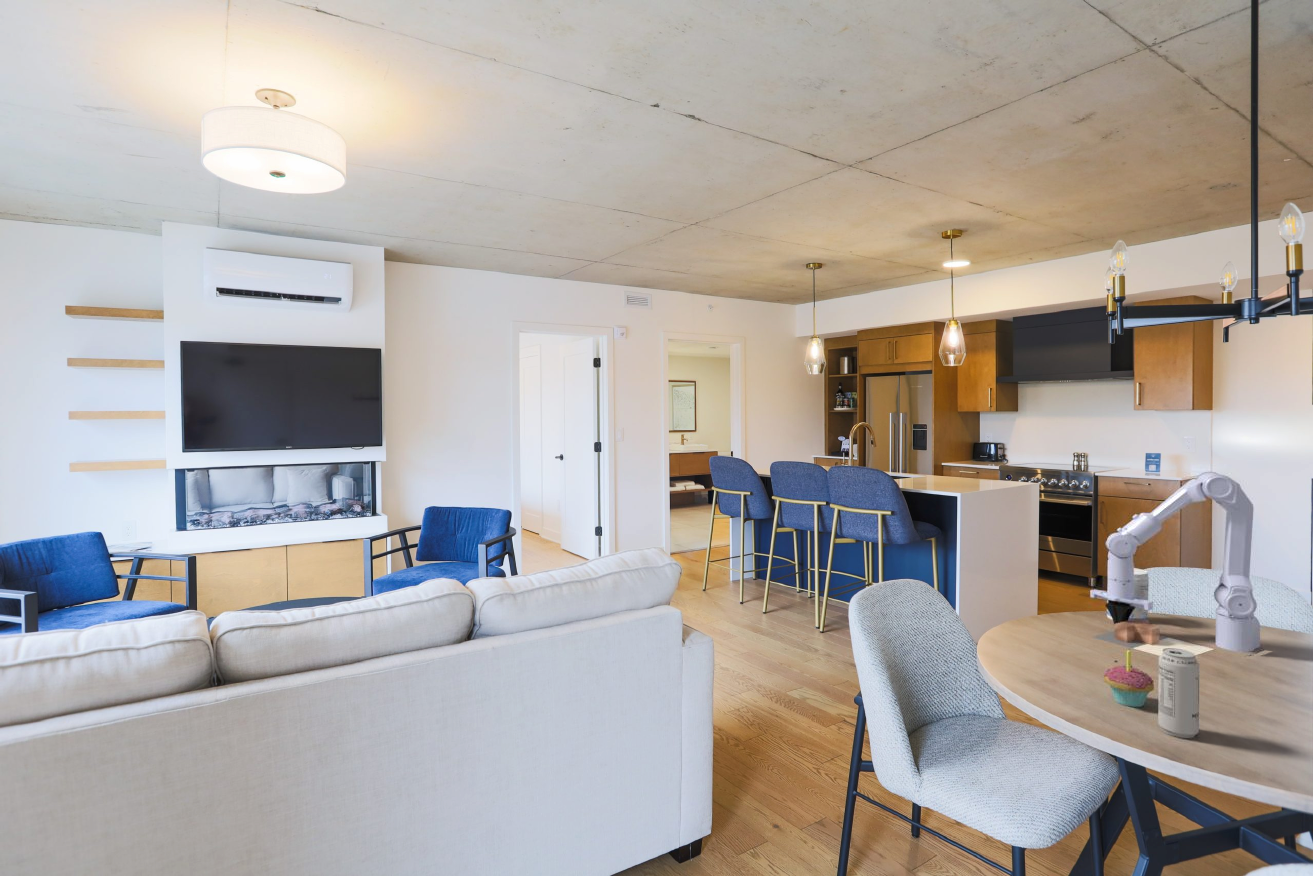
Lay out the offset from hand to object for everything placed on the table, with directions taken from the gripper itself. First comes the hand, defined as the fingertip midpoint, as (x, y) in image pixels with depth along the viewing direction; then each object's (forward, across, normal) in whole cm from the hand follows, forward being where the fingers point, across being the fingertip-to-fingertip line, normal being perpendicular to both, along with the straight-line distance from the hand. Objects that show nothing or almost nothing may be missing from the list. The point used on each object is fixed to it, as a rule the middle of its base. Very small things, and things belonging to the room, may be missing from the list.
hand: (1120, 630), depth 180 cm
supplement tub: (+2, -7, +16) cm, 18 cm away
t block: (+1, +5, 0) cm, 5 cm away
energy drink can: (+2, +36, -46) cm, 58 cm away
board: (+2, +7, 0) cm, 8 cm away
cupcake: (+2, +24, -40) cm, 47 cm away
